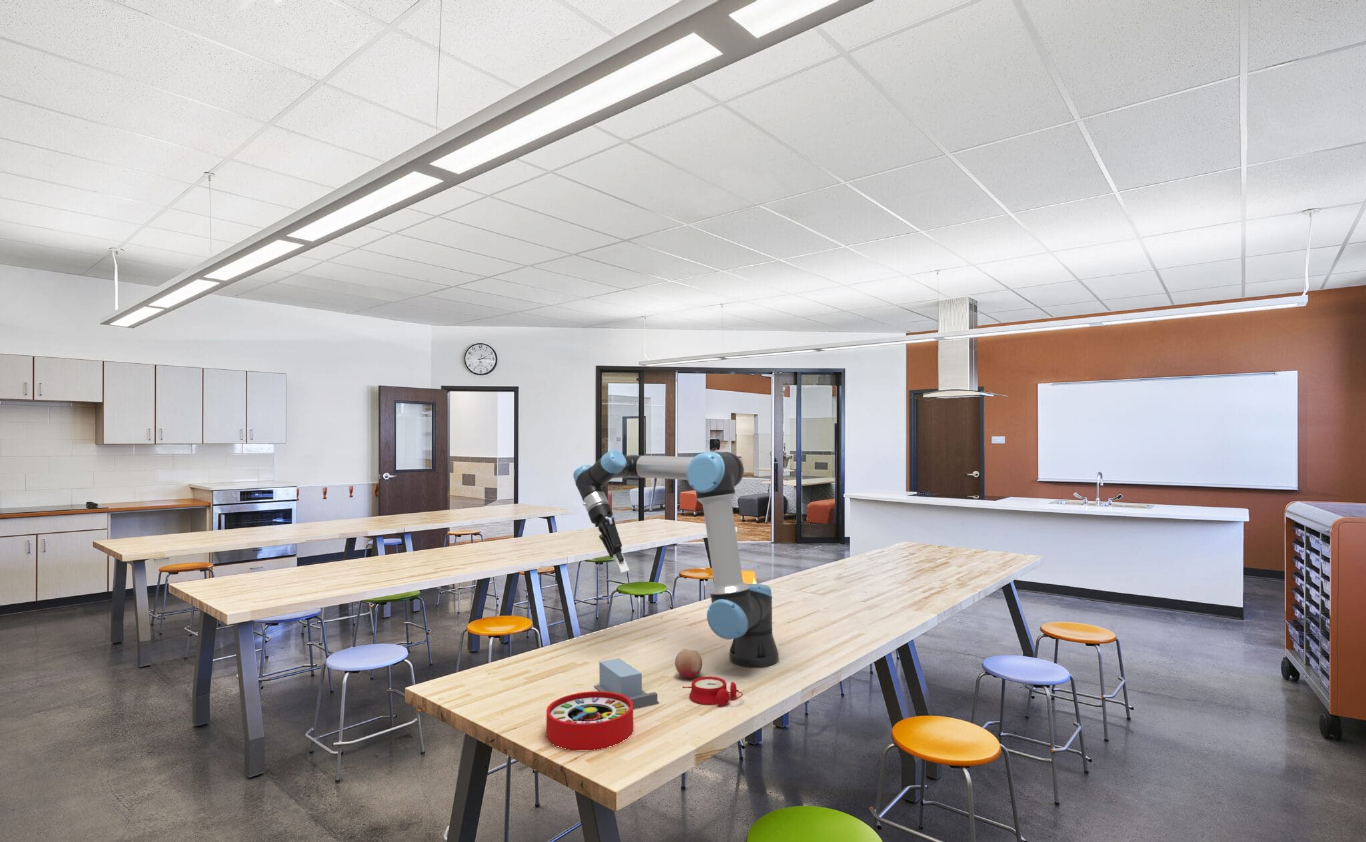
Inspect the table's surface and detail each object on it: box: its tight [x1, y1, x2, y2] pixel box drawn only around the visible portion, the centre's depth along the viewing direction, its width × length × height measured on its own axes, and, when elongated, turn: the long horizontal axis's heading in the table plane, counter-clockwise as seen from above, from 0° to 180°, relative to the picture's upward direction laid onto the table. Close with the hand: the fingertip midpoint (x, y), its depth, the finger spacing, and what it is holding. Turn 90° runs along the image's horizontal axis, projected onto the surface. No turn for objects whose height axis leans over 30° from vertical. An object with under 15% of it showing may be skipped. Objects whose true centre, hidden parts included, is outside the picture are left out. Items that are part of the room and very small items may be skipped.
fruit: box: [674, 648, 703, 680], centre depth 189 cm, size 8×8×8 cm
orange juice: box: [742, 570, 758, 584], centre depth 244 cm, size 8×9×20 cm
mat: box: [593, 684, 660, 710], centre depth 175 cm, size 20×10×2 cm, turn 29°
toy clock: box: [545, 690, 634, 751], centre depth 153 cm, size 20×6×20 cm
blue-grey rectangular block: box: [598, 658, 643, 698], centre depth 178 cm, size 6×6×15 cm
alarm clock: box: [682, 676, 744, 707], centre depth 172 cm, size 10×6×15 cm
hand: (624, 572), depth 206 cm, fingers closed
